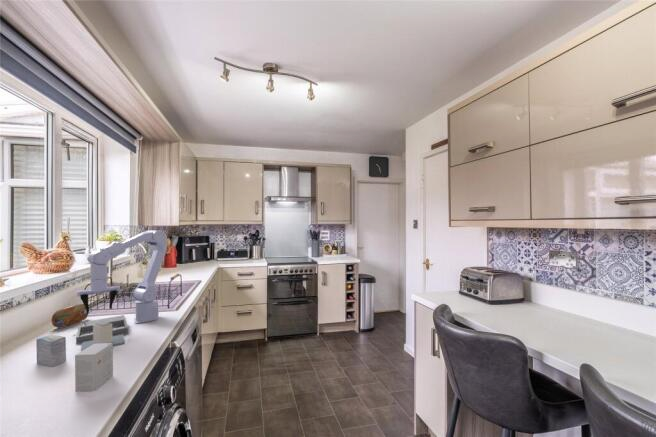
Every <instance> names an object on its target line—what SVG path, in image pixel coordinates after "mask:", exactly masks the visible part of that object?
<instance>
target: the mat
mask: <svg viewBox="0 0 656 437" xmlns="http://www.w3.org/2000/svg"><path fill="white" fill-rule="evenodd" d="M109 343H113V347H114V346H115V347H116V346H120V345H125V340H124V334H119V335H114V336H112V342H109ZM93 344H96V343H94V342H93V340H89V341H84V342H82V343H81V347H80V348H81V349H80V352H81V351H83V350H85V349H86V348H88V347H90V346H91V345H93Z"/></svg>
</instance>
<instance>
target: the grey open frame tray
mask: <svg viewBox="0 0 656 437" xmlns="http://www.w3.org/2000/svg"><path fill="white" fill-rule="evenodd" d="M103 321H105V322H108V323H111V324H112V328H116V327H121V326H123V327H121V328H116V329H112V336H114V335H119V334H123V335H126V334H128V333H129V332H128V331H129V327H128V324H127V320H126V318H125V315H124V314H121V315H116V316H110V317H105V318H100V319H94V320H89V321H86V319H85V320H82V322H79V326H78V328H77V332H76V336H75V337H76V338H75V341H76V343H75V344H76V345H79V344H82V342H84V341H89V340H93V333H91V332H93V324H95V323H99V322H103ZM85 333H90V334H85ZM81 334H85V335H81Z"/></svg>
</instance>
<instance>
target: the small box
mask: <svg viewBox="0 0 656 437" xmlns="http://www.w3.org/2000/svg"><path fill="white" fill-rule="evenodd" d="M113 349H114V346H113V343H99V344H93V345H91V346H90V347H88V348H86V349H85V350H83V351H81V350H80V351H79V352H78V353H77V354H75V355H74V376H75V378H74V384H75V386H74V387H75V390H74V391H75V392H76V393H77V392H78V391H80V392H94V391H93V390H95V391H97V390H98V389H99V388H100V387H102V386H103V385H104V384H105V383H106V382H108V381H109V380H110V379H112V377H113V376H114V356H113V354H114V350H113Z"/></svg>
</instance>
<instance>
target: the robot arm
mask: <svg viewBox="0 0 656 437" xmlns="http://www.w3.org/2000/svg"><path fill="white" fill-rule="evenodd" d="M167 240H168V236H167V233H166V232H165V230H161V229H157V230H155V229H153V230H152V229H148V230H146V231H143V232H140V233H139V234H136V235H135V236H133V237H130V238H129V239H127V240H125V241H123V242H120V241H112V242H111V243H110V245H109V244H108V246H105V247H100V249H99V250H94V251H91V252H90V254H89V255H88V257H87V261H88V263H89V265H90V269H89V270H90V271H89V272H90V275H89V276H90V288H89V289H83V290H77V291H76V297H80V300H81V302H82V304H84V305H85V307H86V310H87V313H88V312H89V313H90V306H89V296H90V295H97V294H106V293H109V309H110V310H111V309H112V308H113V303H114V300H115V298H116V296H117V294H118V292H120V291H121V286H120V285H116V286H113V285H112V286H108V263H109V262H110V261H111V260H112V259H115V258H116V257H119V256H120V255H122V254H124V253H126V250H127V249H129V248H131V247H134V246H136V245H139V244H141V243H143V242H146V244H147V243H148V244H149V245H150V246H151V248H152V249H153V251H152V255H151V257H150V259H149V261H148V262H149V263H148V264H147V267H146V269H145V273H144V274H143V275H144V276H143V277H142V281H140V282H139V283H138V284H137V286H136V288H135V289H133V292H132V298H133V299H134V300H135V318H133V320H134V324H141V323H147V322H151V321H152V322H153V321H157V320H159V302H158V300H157V299H155V298H156V296H157V292H156V291H157V287H158V286H156V280H157V277H158V275H159V272H160V269H161V266H162V264H163V261H164V259H165V256H166V252H167V249H168V246H167V244H168V243H167ZM154 299H155V300H154ZM89 313H88V314H89Z"/></svg>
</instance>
